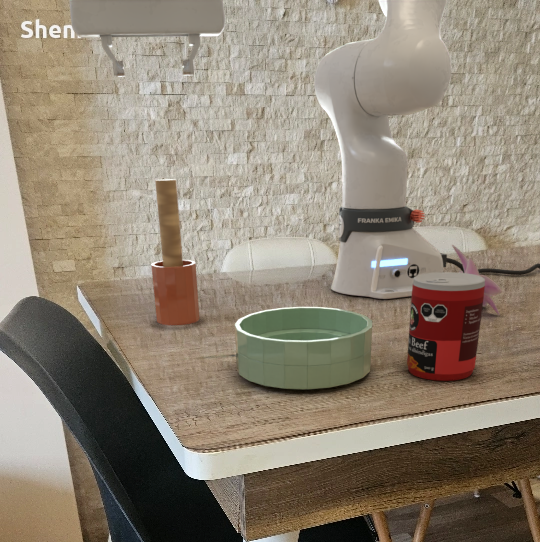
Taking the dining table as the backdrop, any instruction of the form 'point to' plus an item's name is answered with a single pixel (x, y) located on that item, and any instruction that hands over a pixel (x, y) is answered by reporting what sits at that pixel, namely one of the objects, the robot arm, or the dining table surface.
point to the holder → (176, 293)
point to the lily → (490, 285)
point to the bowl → (303, 347)
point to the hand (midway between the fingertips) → (154, 75)
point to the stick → (169, 222)
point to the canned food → (444, 325)
